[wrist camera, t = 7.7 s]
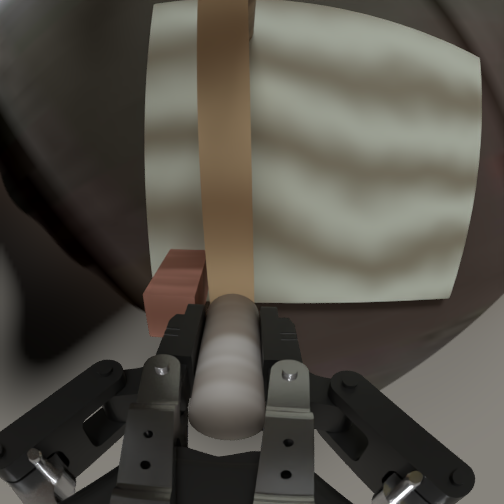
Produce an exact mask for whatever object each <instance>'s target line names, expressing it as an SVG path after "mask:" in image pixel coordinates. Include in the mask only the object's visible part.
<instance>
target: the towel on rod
mask: <svg viewBox="0 0 504 504" xmlns="http://www.w3.org/2000/svg"><path fill="white" fill-rule="evenodd" d="M197 4H198V0H185V1H175V2H166V3H159V4H154V7H153V14H152V22H151V30H150V40H149V50H148V62H147V77H146V96H145V188H146V208H147V224H148V237H149V248H150V259H151V269H152V277H153V278H152V280H151V281H150V283H149V285H148V286H147V288H146V290H145V292H144V293H143V298H144V305H145V311H146V316H147V322H148V328H149V334H150V336H152V337H163V335H164V332H165V330H166V327H167V325H168V322H169V320H170V319H171V318H172V317H173V316H175V315H176V314H185V311H186V308H187V305H188V304H204V305H205V303H206V301H210V298H209V288H208V277H207V266H206V254H205V242H204V229H203V215H202V200H201V183H200V164H199V141H198V110H197ZM248 25H249V69H250V114H251V161H252V209H253V259H254V303H348V302H384V301H407V300H427V299H443V298H449V297H450V294H451V291H452V288H453V285H454V282H455V278H456V275H457V272H458V268H459V265H460V261H461V257H462V253H463V249H464V245H465V241H466V237H467V232H468V228H469V223H470V218H471V213H472V207H473V202H474V196H475V189H476V182H477V174H478V166H479V155H480V143H481V123H482V88H481V68H480V58H479V57H477V56H475V55H473V54H471V53H469V52H467V51H465V50H463V49H461V48H459V47H456V46H454V45H452V44H450V43H448V42H445V41H443V40H441V39H438V38H436V37H433V36H431V35H428V34H426V33H423V32H420V31H418V30H415V29H412V28H409V27H406V26H403V25H400V24H397V23H394V22H391V21H388V20H384V19H381V18H377V17H373V16H370V15H366V14H362V13H357V12H353V11H349V10H344V9H339V8H334V7H328V6H322V5H316V4H309V3H302V2H293V1H283V0H248Z"/></svg>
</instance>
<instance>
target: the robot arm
mask: <svg viewBox="0 0 504 504" xmlns="http://www.w3.org/2000/svg"><path fill="white" fill-rule="evenodd" d="M205 320H206V312H205V305H204V304H188V305H187V308H186V311H185V314H176V315H175V316H173V317H172V318H171V319H170V320H169V322H168V325H167V327H166V330H165V332H164V335H163V338H162V340H161V343H160V346H159V348H158V351H157V353H156V355H155V356H152V357H151V358H149V359H148V360H147V361H146V362H145V364H144V366H143V367H141V368H137V369H128V370H123V368H122V366H121V364H120V363H118V362H116V361H114V360H102V361H99V362H97V363H95V364H94V365H92V366H91V367H89V368H88V369H87V370H85V371H84V372H82V373H81V374H80V375H78V376H77V377H75V378H74V379H73V380H71V381H70V382H69V383H67V384H66V385H64V386H63V387H62V388H60V389H59V390H58V391H56V392H55V393H53V394H52V395H50V396H49V397H48V398H46V399H45V400H44V401H42V402H41V403H39V404H38V405H37V406H35V407H34V408H32V409H31V410H30V411H28V412H27V413H25V414H24V415H23V416H21V417H20V418H19V419H17V420H16V421H14V422H13V423H12V424H10V425H9V426H8V427H6V428H5V429H4V430H2V431H1V432H0V478H1V479H2V480H4V481H5V482H6V483H7V484H8V485H9V486H10V487H12V489H13V490H14V492H15V493H16V494H17V496H18V497H19V498H20V499H21V501H22V502H23V504H353V503H352V502H350V501H349V500H348V499H346V498H345V497H344V496H343V495H341V494H340V493H339V492H337V491H336V490H335V489H334V488H333V487H331V486H330V485H329V484H328V483H326V482H325V481H324V480H323V479H322V478H320V477H319V476H318V475H317V474H316V473H315V472H314V429H317V431H318V433H319V434H320V435H321V436H322V438H323V439H324V440H325V441H326V442H327V443H328V444H329V445H330V447H331V448H332V449H333V450H334V451H335V452H336V453H337V454H338V455H339V456H340V458H341V459H342V460H343V461H344V462H345V463H346V464H347V465H348V466H349V467H350V468H351V469H352V471H353V472H354V473H355V474H356V475H357V476H358V477H359V478H360V479H361V480H362V481H363V482H364V483H365V484H366V485H367V486H368V487H369V488H370V489H371V490H372V491H373V493H374V495H373V497H372V504H455V503H457V502H458V501H459V500H461V499H462V498H463V497H464V496H466V495H467V494H468V493H469V492H470V491H471V490H472V488H473V486H474V483H475V475H474V472H473V470H472V469H471V468H470V467H469V466H468V465H467V464H466V463H465V462H463V461H462V460H461V459H460V458H458V457H457V456H456V455H455V454H454V453H452V452H451V451H450V450H449V449H448V448H446V447H445V446H444V445H443V444H442V443H440V442H439V441H438V440H437V439H436V438H434V437H433V436H432V435H431V434H430V433H428V432H427V431H426V430H425V429H424V428H422V427H421V426H420V425H419V424H418V423H416V422H415V421H414V420H413V419H412V418H411V417H409V416H408V415H407V414H406V413H405V412H403V411H402V410H401V409H400V408H399V407H398V406H397V405H395V404H394V403H393V402H392V401H391V400H389V399H388V398H387V397H386V396H385V395H384V394H383V393H381V392H380V391H379V390H378V389H377V388H376V387H374V386H373V385H372V384H371V383H370V382H369V381H368V380H366V379H365V378H364V377H363V376H362V375H360V374H358V373H356V372H353V371H341V372H338V373H336V374H335V375H333V377H332V378H331V379H330V378H324V377H320V376H316V375H314V374H312V373H310V372H309V371H308V369H307V367H306V366H305V365H304V364H303V363H302V358H301V353H300V349H299V344H298V340H297V334H296V330H295V325H294V324H293V323H292V322H291V320H290V319H289V318H278V312H277V307H260V318H259V324H260V340H261V358H262V375H263V380H264V395H265V401H266V414H265V422H264V430H263V437H262V445H261V451H259V452H258V451H252V452H251V451H250V452H245V453H240V454H234V455H228V456H220V457H217V456H213V455H210V454H206V453H203V452H199V451H196V450H193V449H190V448H188V408H187V407H188V403H189V398H191V396H192V390H193V385H194V379H195V374H196V368H197V363H198V357H199V352H200V346H201V341H202V336H203V331H204V326H205ZM101 406H102V408H101V409H100V410H99V411H97V412H96V413H95V414H94V415H93V416H91V417H90V418H89V419H88V420H86V421H85V419H86V418H88V417H89V416H90V415H91V414H92V413H94V412H95V411H96V410H97V409H99V408H100V407H101ZM84 421H85V422H84ZM83 422H84V423H83ZM123 435H124V439H123V444H122V451H121V457H120V463H119V466H117V467H116V468H114V469H113V470H111V471H110V472H108V473H107V474H105V475H104V476H102V477H100V478H99V479H97V480H96V481H94V482H93V483H91V484H90V485H88V486H86V487H85V488H83V489H81V490H80V491H78V492H76V493H75V487H76V477H77V476H79V475H80V474H81V473H82V472H83V471H84V470H85V469H87V468H88V467H89V466H90V465H91V464H92V463H93V462H94V461H96V460H97V459H98V458H99V457H100V456H101V455H102V454H103V453H104V452H106V451H107V450H108V449H109V448H110V447H111V446H112V445H113V444H114V443H116V442H117V441H118V440H119V439H120V438H121V437H122V436H123Z"/></svg>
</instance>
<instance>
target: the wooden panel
mask: <svg viewBox="0 0 504 504" xmlns="http://www.w3.org/2000/svg"><path fill="white" fill-rule="evenodd" d="M197 110H198V141H199V164H200V183H201V200H202V215H203V229H204V242H205V254H206V266H207V277H208V288H209V298H210V305H209V307H208V310H207V315H206V320H205V326H204V331H203V336H202V341H201V346H200V352H199V357H198V363H197V368H196V374H195V379H194V385H193V390H192V396H191V403H190V408H189V414H188V419H189V422H190V424H191V425H192V426H193V427H194V428H195V429H196V430H197V431H198V432H200V433H202V434H204V435H206V436H208V437H212V438H215V439H220V440H239V439H245V438H249V437H251V436H254V435H256V434H257V433H259V432H260V431H261V430H262V429H263V428H264V422H265V414H266V409H265V395H264V380H263V375H262V358H261V340H260V324H259V312H258V309H257V307H256V305H255V304H254V259H253V209H252V161H251V114H250V69H249V25H248V0H198V4H197Z"/></svg>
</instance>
